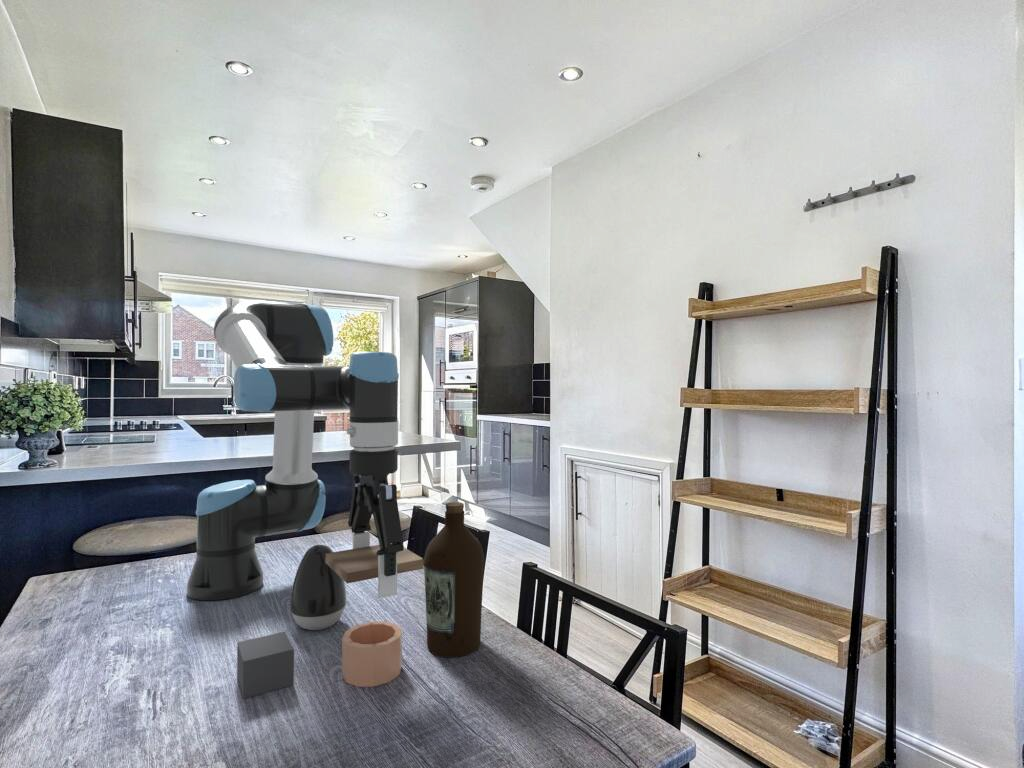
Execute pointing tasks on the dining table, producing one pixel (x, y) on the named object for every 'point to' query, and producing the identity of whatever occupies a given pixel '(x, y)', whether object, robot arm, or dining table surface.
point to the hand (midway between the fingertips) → (373, 583)
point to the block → (265, 664)
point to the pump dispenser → (317, 591)
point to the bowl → (371, 653)
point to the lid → (368, 563)
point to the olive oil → (454, 587)
